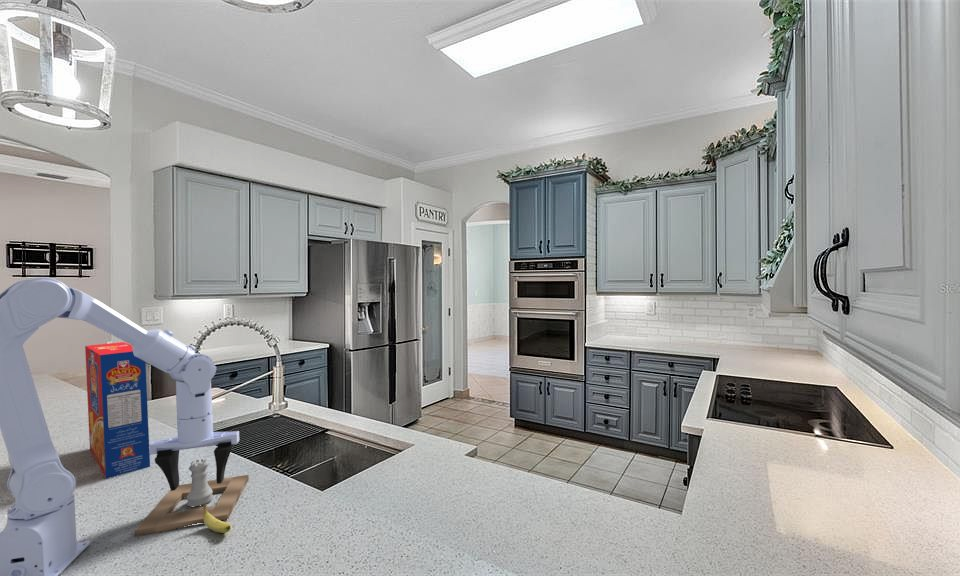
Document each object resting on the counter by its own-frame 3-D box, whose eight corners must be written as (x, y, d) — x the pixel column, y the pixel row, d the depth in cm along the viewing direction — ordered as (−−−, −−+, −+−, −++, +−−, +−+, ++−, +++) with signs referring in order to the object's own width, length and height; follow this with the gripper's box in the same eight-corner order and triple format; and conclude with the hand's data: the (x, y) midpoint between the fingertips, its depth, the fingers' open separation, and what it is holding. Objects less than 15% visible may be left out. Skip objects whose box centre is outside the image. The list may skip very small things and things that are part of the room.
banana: (198, 528, 74) (197, 505, 74) (208, 522, 76) (207, 500, 76) (225, 540, 70) (224, 516, 70) (235, 534, 72) (234, 511, 72)
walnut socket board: (227, 519, 77) (227, 514, 77) (134, 536, 72) (134, 530, 72) (248, 479, 93) (248, 474, 93) (173, 490, 89) (173, 485, 89)
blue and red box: (89, 449, 114) (85, 345, 114) (128, 440, 120) (123, 342, 120) (105, 478, 96) (100, 355, 95) (150, 466, 102) (145, 350, 101)
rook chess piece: (198, 509, 81) (196, 467, 81) (180, 506, 82) (178, 465, 82) (219, 497, 85) (217, 457, 85) (201, 495, 86) (200, 456, 86)
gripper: (241, 405, 88) (244, 470, 89) (159, 413, 84) (162, 482, 84) (233, 414, 82) (236, 485, 82) (143, 424, 77) (146, 499, 78)
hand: (197, 484), depth 83 cm, fingers open, 7 cm apart
